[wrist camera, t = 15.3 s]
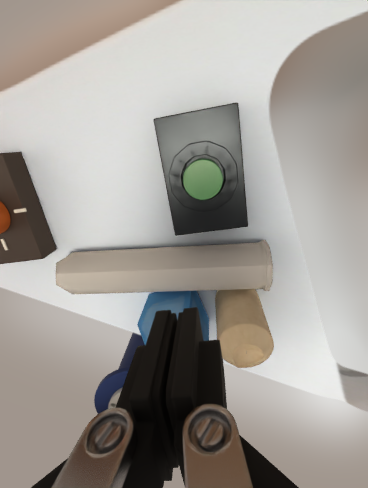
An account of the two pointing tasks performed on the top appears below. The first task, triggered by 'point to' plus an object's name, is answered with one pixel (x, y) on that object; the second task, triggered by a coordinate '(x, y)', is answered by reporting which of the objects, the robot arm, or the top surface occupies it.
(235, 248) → the tube
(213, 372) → the robot arm
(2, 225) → the dial knob
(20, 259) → the dial block
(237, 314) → the candle
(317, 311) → the top surface
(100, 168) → the top surface
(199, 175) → the button
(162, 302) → the perfume bottle
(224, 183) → the button housing
